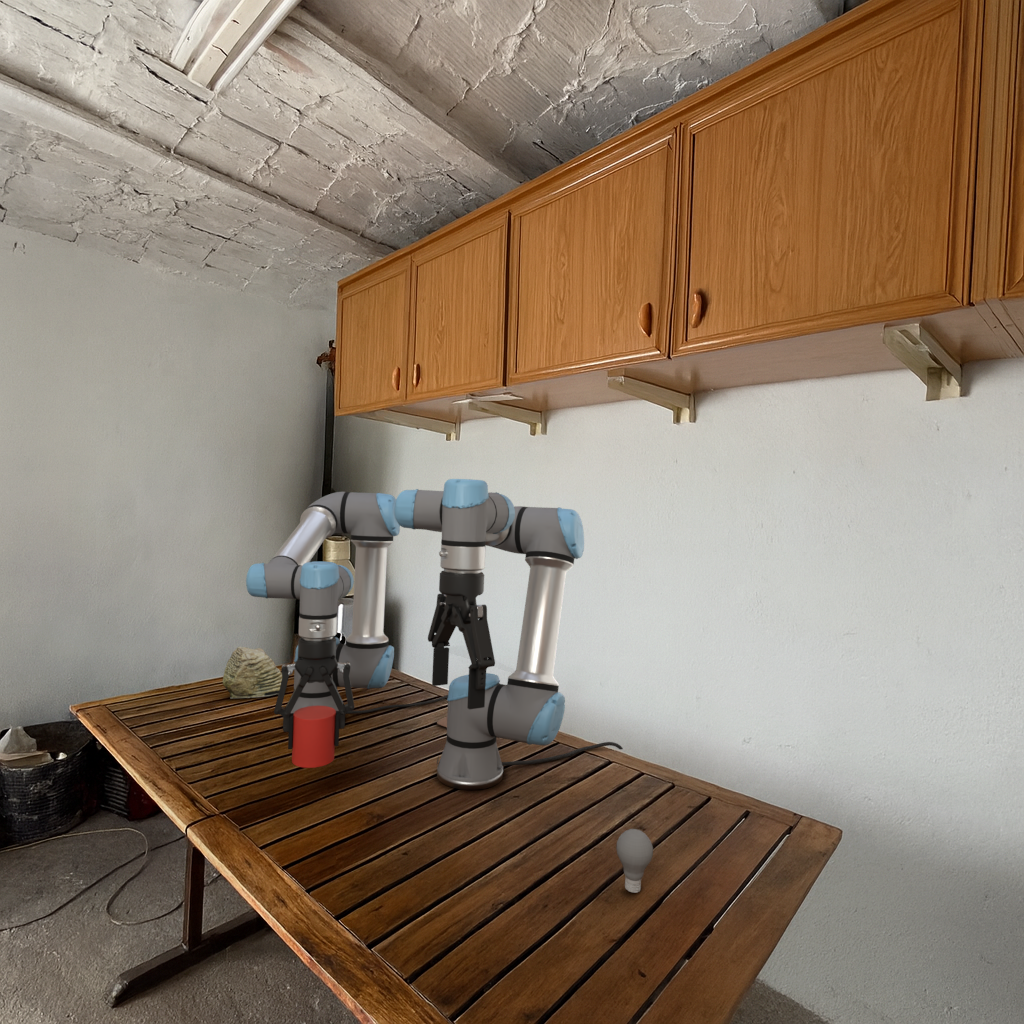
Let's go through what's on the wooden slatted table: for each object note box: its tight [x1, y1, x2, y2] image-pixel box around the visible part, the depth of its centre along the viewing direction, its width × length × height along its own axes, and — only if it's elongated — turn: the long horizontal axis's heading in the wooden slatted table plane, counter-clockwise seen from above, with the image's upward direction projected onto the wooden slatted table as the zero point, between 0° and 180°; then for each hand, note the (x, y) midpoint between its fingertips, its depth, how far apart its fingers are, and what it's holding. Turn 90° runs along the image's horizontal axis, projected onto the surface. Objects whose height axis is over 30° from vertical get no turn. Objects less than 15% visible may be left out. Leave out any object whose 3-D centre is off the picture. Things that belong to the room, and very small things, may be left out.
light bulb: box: [615, 828, 654, 894], centre depth 106 cm, size 6×6×10 cm
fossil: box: [222, 646, 282, 699], centre depth 198 cm, size 9×18×15 cm, turn 132°
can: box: [291, 706, 336, 769], centre depth 132 cm, size 8×8×10 cm
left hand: (313, 745), depth 132 cm, fingers closed on can, 8 cm apart
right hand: (456, 695), depth 107 cm, fingers open, 13 cm apart
